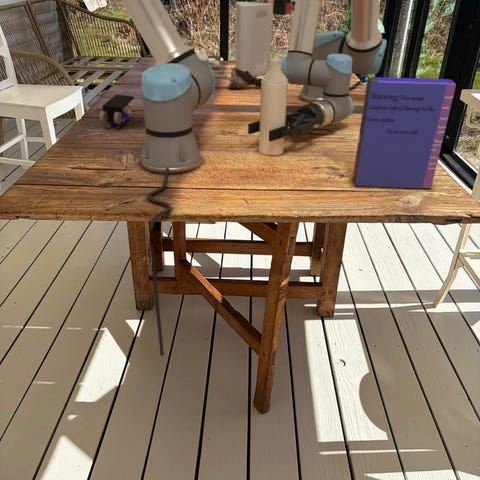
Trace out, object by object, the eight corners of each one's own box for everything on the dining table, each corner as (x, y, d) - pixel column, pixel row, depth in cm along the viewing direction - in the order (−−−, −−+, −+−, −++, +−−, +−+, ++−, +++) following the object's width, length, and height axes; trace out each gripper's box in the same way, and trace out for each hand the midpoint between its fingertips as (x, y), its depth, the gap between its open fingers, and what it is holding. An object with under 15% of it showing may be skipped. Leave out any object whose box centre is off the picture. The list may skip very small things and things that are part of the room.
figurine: (210, 87, 179) (288, 95, 182) (212, 65, 176) (291, 73, 180) (208, 84, 201) (278, 91, 205) (210, 64, 198) (280, 71, 202)
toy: (175, 75, 210) (174, 58, 206) (151, 64, 228) (150, 49, 224) (222, 69, 222) (222, 53, 218) (195, 59, 239) (195, 45, 236)
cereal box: (425, 180, 115) (449, 78, 103) (430, 188, 111) (456, 83, 99) (352, 177, 116) (367, 76, 104) (355, 186, 112) (371, 81, 100)
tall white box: (273, 76, 210) (276, 6, 196) (239, 77, 209) (240, 6, 194) (266, 67, 226) (268, 2, 212) (235, 67, 225) (235, 1, 210)
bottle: (287, 149, 133) (293, 58, 121) (277, 157, 128) (282, 63, 115) (265, 144, 136) (269, 56, 123) (254, 152, 131) (257, 60, 118)
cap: (281, 11, 113) (281, 2, 112) (294, 13, 110) (295, 4, 109) (269, 12, 111) (269, 3, 110) (282, 14, 108) (282, 5, 107)
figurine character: (122, 135, 144) (137, 116, 156) (118, 111, 140) (134, 93, 152) (101, 134, 145) (117, 115, 157) (96, 110, 140) (113, 92, 152)
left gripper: (298, -117, 90) (289, 18, 103) (313, -107, 104) (304, 10, 117) (260, -116, 92) (256, 16, 104) (280, -107, 106) (274, 9, 118)
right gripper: (340, 136, 135) (286, 156, 121) (287, 120, 147) (233, 136, 134) (343, 110, 131) (288, 127, 118) (289, 96, 143) (233, 110, 130)
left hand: (281, 13), depth 110 cm, fingers closed on cap, 4 cm apart
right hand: (259, 132), depth 126 cm, fingers closed on bottle, 7 cm apart
